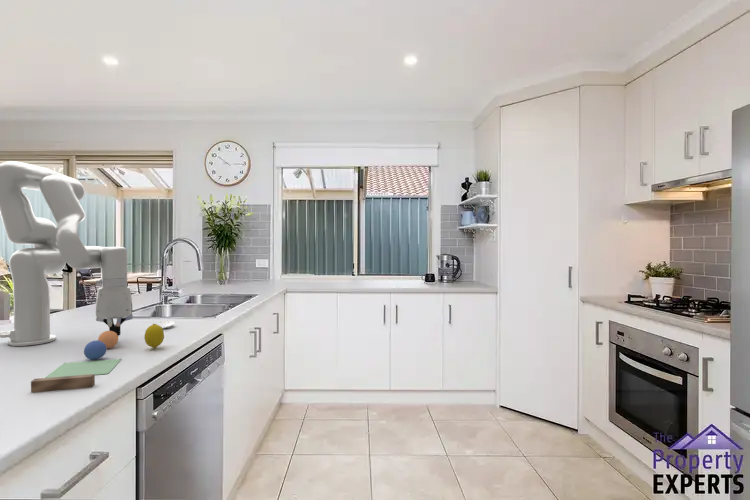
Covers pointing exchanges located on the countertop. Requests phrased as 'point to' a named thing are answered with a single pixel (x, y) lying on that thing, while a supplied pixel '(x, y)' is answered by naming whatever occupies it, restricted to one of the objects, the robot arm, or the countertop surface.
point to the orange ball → (108, 338)
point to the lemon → (154, 336)
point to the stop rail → (62, 383)
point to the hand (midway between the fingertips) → (115, 337)
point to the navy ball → (95, 350)
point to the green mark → (84, 368)
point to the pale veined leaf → (165, 323)
